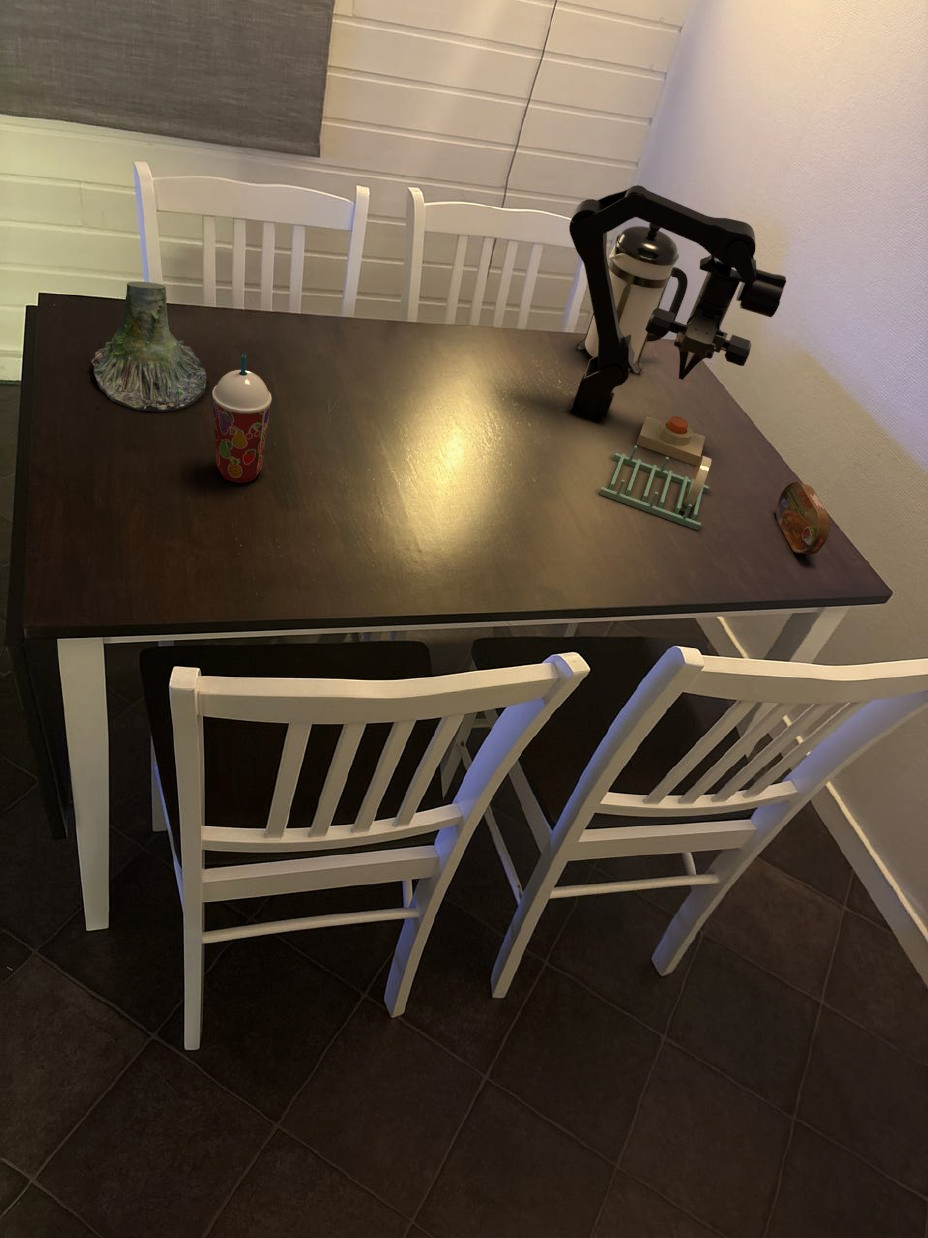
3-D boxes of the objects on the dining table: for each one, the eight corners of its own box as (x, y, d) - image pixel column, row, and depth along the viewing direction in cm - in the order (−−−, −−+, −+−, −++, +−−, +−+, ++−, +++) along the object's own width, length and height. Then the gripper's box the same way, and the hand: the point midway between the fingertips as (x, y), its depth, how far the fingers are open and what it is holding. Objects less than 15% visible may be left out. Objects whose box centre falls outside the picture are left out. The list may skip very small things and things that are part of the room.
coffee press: (630, 388, 186) (684, 245, 165) (563, 357, 189) (608, 213, 169) (659, 361, 198) (712, 225, 177) (595, 332, 201) (640, 196, 181)
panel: (635, 444, 170) (643, 426, 167) (642, 425, 176) (650, 407, 173) (696, 466, 169) (704, 448, 166) (701, 446, 175) (709, 428, 172)
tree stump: (89, 412, 142) (74, 295, 133) (98, 375, 159) (86, 269, 150) (208, 413, 147) (202, 300, 138) (206, 377, 164) (200, 274, 155)
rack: (599, 494, 155) (606, 475, 152) (613, 457, 165) (620, 439, 162) (698, 530, 153) (707, 512, 151) (706, 491, 163) (715, 473, 160)
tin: (770, 509, 163) (791, 471, 158) (786, 511, 164) (808, 473, 158) (797, 563, 153) (821, 525, 147) (814, 565, 153) (838, 527, 148)
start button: (665, 430, 169) (668, 422, 167) (668, 421, 171) (671, 414, 170) (683, 437, 168) (687, 429, 167) (686, 428, 171) (689, 420, 170)
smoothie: (276, 469, 141) (284, 354, 128) (249, 495, 135) (255, 378, 122) (229, 450, 142) (232, 334, 129) (200, 475, 136) (201, 357, 123)
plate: (678, 516, 155) (699, 471, 149) (685, 490, 162) (705, 446, 155) (687, 519, 155) (708, 475, 149) (693, 493, 162) (714, 449, 155)
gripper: (655, 296, 151) (625, 378, 162) (761, 334, 149) (723, 414, 160) (666, 275, 160) (636, 354, 170) (766, 311, 158) (730, 388, 168)
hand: (680, 378), depth 167 cm, fingers closed
